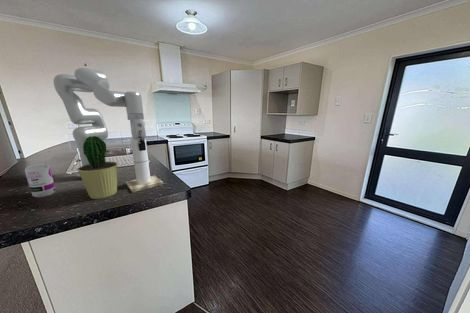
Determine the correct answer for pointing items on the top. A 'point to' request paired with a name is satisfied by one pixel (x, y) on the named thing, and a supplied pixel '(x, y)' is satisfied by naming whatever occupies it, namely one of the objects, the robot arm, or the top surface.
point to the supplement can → (40, 180)
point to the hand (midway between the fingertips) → (139, 148)
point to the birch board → (136, 187)
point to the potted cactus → (98, 170)
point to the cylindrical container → (140, 163)
